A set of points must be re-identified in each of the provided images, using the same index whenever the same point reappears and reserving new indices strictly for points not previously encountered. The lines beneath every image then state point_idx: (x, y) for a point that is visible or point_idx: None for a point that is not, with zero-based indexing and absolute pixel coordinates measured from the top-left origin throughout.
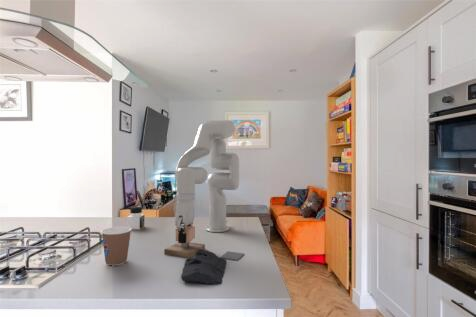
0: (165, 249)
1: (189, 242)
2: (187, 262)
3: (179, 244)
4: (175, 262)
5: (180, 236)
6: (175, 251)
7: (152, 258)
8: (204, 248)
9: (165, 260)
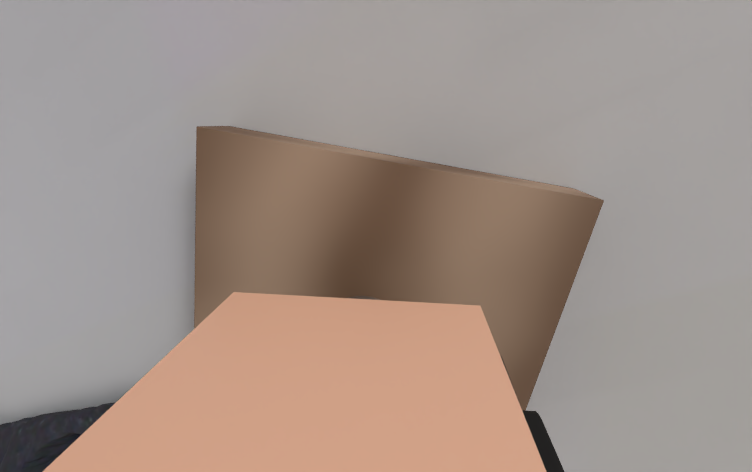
0: (198, 143)
1: (544, 336)
2: (17, 457)
3: (434, 242)
4: (91, 320)
5: None
6: (199, 281)
7: (73, 57)
8: None
9: (89, 220)
